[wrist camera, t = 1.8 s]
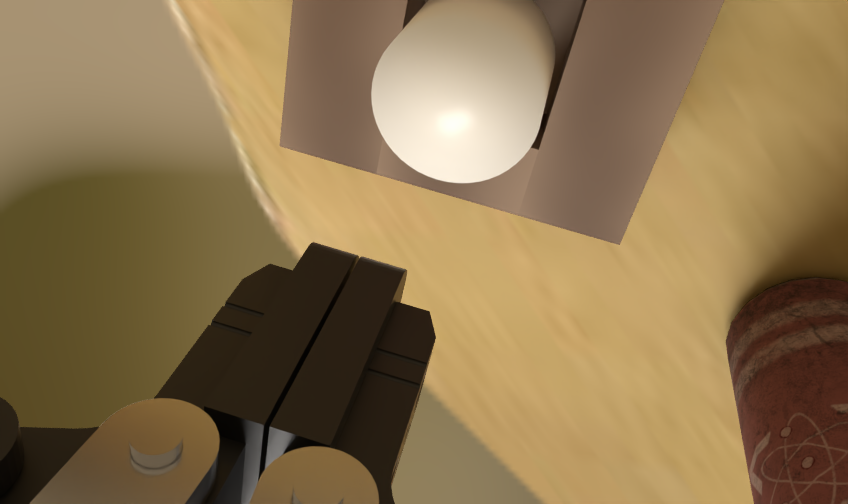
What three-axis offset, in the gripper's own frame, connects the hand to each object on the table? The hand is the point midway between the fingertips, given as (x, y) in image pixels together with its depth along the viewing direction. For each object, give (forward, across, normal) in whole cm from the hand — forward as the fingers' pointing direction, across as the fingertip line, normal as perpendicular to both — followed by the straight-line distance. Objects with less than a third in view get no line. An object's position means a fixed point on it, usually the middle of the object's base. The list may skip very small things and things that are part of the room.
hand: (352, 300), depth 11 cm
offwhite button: (+13, 0, 0) cm, 13 cm away
